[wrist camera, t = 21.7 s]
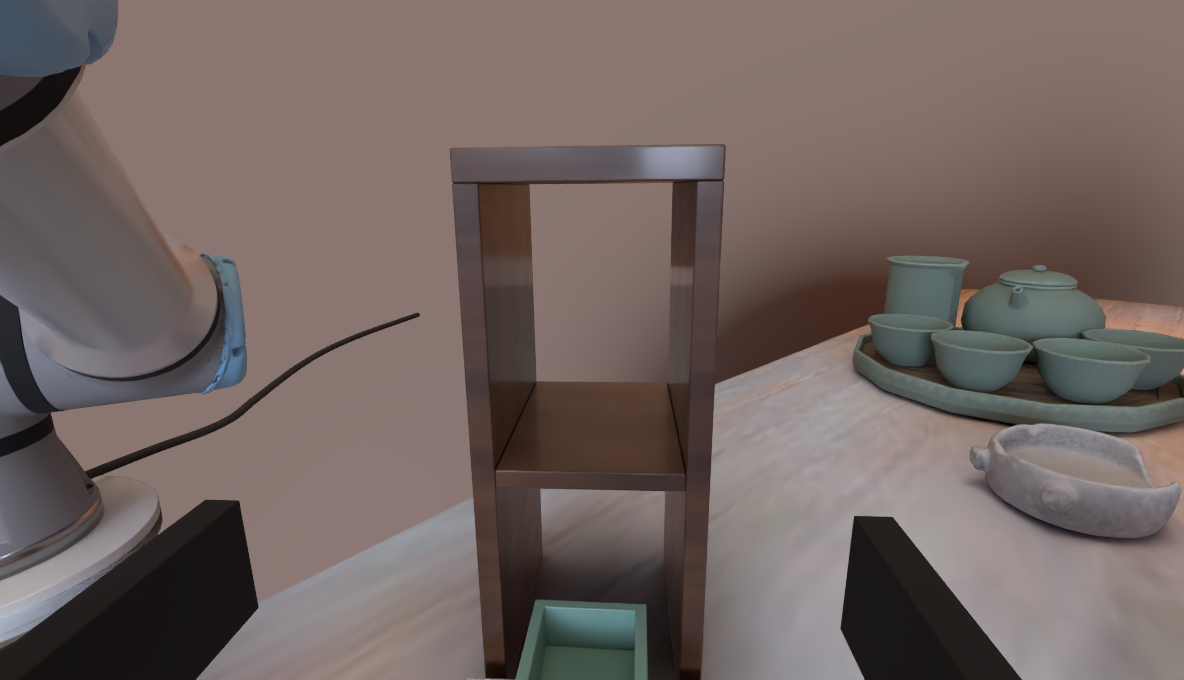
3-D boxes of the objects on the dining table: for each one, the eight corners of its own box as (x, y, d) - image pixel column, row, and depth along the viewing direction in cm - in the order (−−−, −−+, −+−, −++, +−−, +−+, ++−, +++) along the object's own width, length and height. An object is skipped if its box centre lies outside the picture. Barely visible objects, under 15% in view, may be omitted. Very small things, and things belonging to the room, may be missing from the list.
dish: (1091, 467, 60) (1101, 422, 58) (1224, 549, 46) (1241, 492, 45) (944, 464, 61) (951, 419, 59) (1032, 543, 47) (1044, 487, 46)
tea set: (839, 403, 78) (852, 280, 74) (864, 336, 112) (874, 249, 108) (1258, 467, 60) (1307, 308, 55) (1137, 364, 93) (1161, 260, 89)
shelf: (527, 552, 47) (511, 161, 39) (678, 557, 46) (691, 158, 38) (487, 702, 33) (449, 147, 26) (700, 711, 32) (726, 143, 25)
